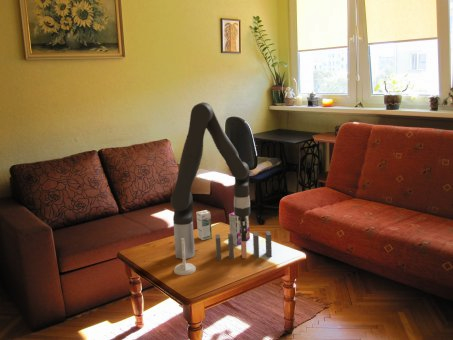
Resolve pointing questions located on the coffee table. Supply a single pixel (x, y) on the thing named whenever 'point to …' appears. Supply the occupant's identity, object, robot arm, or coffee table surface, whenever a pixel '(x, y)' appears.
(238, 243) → the candy bar box
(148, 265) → the coffee table surface
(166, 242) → the coffee table surface
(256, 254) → the domino
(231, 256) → the domino
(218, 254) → the domino
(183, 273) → the white paper towel holder
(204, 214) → the syrup box
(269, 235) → the domino
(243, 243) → the domino
